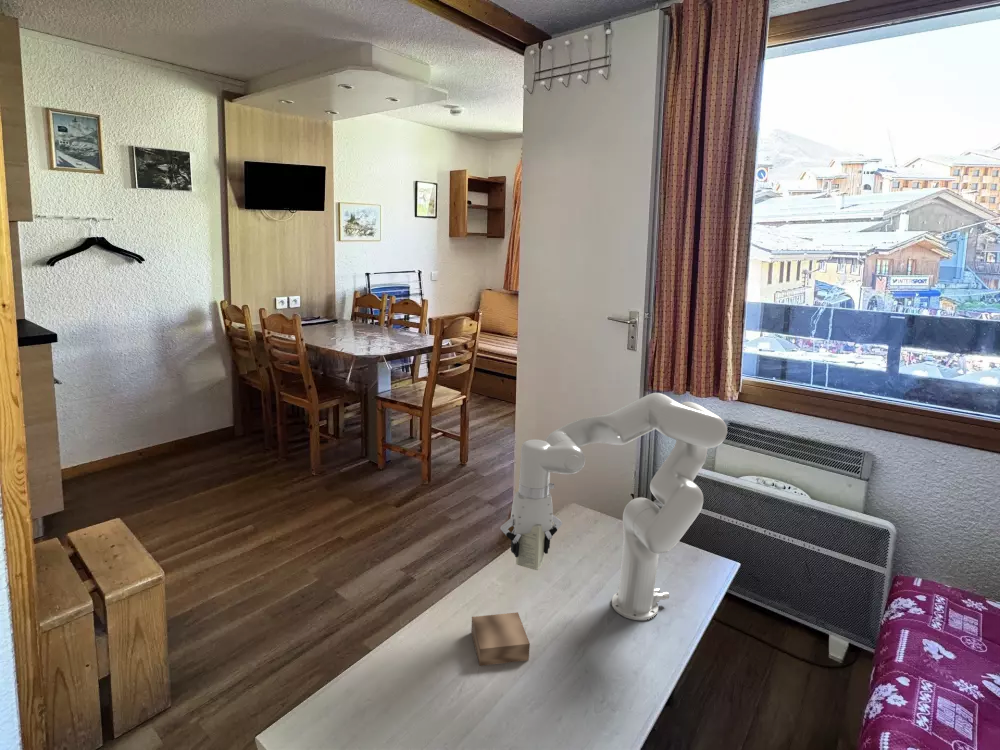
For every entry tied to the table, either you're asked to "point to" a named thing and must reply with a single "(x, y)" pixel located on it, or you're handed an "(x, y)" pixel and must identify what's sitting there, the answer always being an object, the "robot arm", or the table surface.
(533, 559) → the skincare box
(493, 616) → the walnut block
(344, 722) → the table surface
